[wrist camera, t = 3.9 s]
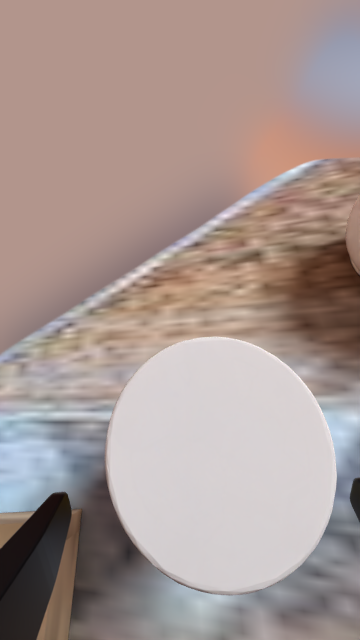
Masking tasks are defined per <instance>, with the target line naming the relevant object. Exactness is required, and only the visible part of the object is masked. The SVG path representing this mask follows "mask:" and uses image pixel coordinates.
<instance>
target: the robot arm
mask: <svg viewBox="0 0 360 640" xmlns="http://www.w3.org/2000/svg"><path fill="white" fill-rule="evenodd" d="M350 501H351V505H352V507H353V509H354V511H355V513H356V516H357V518H358V520H359V522H360V478H355V479H354V480H353V484H352V489H351V493H350ZM71 516H72V510H71V506H70V502H69V498H68V494H67V493H66V492H57V493H53V494H52V495H50V496H49V497H48V499H47V500H46V501H45V502H44V503H43V504H42V505H41V506H40V507H39V508H38V509H37V510H36V511H35V512H34V513H33V514H32V515H31V517H30V518H29V519H28V520H27V521H26V522H25V523H24V524H23V525H22V526H21V527H20V528H19V529H18V530H17V531H16V532H15V534H14V535H13V536H12V537H11V538H10V539H9V540H8V541H7V542H6V543H5V544H4V545H3V546H2V547H1V548H0V640H37V637H38V634H39V631H40V628H41V625H42V622H43V619H44V616H45V613H46V610H47V607H48V604H49V601H50V598H51V595H52V592H53V588H54V585H55V582H56V578H57V574H58V571H59V566H60V562H61V558H62V554H63V550H64V546H65V542H66V538H67V534H68V530H69V526H70V522H71Z"/></svg>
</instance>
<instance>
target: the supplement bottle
mask: <svg viewBox="0 0 360 640" xmlns="http://www.w3.org/2000/svg"><path fill="white" fill-rule="evenodd" d="M105 469H106V478H107V484H108V489H109V493H110V496H111V500H112V503H113V505H114V508H115V510H116V513H117V515H118V518H119V520H120V522H121V524H122V526H123V528H124V530H125V532H126V534H127V535H128V536H129V538H130V539H131V540H132V542H133V544H134V545H135V546H136V548H137V549H138V550H139V551H140V552H141V553H142V555H143V556H144V557H145V558H146V559H147V560H148V561H149V562H150V563H152V564H153V565H154V566H155V567H156V568H157V569H159V570H160V571H161V572H162V573H163V574H165V575H166V576H168V577H169V578H171V579H173V580H174V581H176V582H177V583H179V584H181V585H184V586H186V587H189V588H191V589H195V590H198V591H201V592H206V593H211V594H219V595H241V594H248V593H252V592H256V591H259V590H262V589H264V588H267V587H269V586H272V585H274V584H276V583H278V582H280V581H281V580H283V579H284V578H286V577H287V576H288V575H290V574H291V573H292V572H293V571H294V570H296V569H297V568H298V567H299V566H301V565H302V564H303V562H304V561H305V560H306V559H307V558H308V556H309V555H310V554H311V553H312V552H313V550H314V549H315V547H316V546H317V544H318V542H319V541H320V539H321V537H322V535H323V533H324V531H325V529H326V526H327V524H328V522H329V518H330V515H331V512H332V508H333V502H334V496H335V490H336V479H337V474H336V461H335V452H334V446H333V442H332V438H331V434H330V430H329V427H328V425H327V422H326V419H325V417H324V414H323V412H322V410H321V408H320V406H319V405H318V403H317V401H316V399H315V397H314V396H313V394H312V393H311V391H310V390H309V389H308V387H307V386H306V385H305V383H304V382H303V381H302V380H301V378H300V377H299V376H298V375H297V374H296V373H295V372H294V371H293V370H292V369H291V368H290V367H289V366H287V365H286V364H285V363H283V362H282V361H281V360H279V359H278V358H277V357H276V356H274V355H272V354H271V353H269V352H267V351H265V350H264V349H262V348H260V347H258V346H255V345H253V344H250V343H248V342H244V341H241V340H236V339H231V338H224V337H202V338H195V339H191V340H186V341H182V342H179V343H176V344H174V345H172V346H169V347H167V348H166V349H164V350H162V351H160V352H159V353H157V354H156V355H154V356H153V357H152V358H150V359H149V360H148V361H146V362H145V363H144V364H143V365H142V366H141V367H140V368H139V369H138V370H137V371H136V372H135V374H134V375H133V376H132V377H131V378H130V380H129V381H128V382H127V384H126V386H125V387H124V389H123V390H122V392H121V394H120V396H119V398H118V400H117V402H116V405H115V407H114V409H113V412H112V416H111V419H110V423H109V427H108V431H107V440H106V446H105Z"/></svg>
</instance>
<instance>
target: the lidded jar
mask: <svg viewBox="0 0 360 640" xmlns="http://www.w3.org/2000/svg"><path fill="white" fill-rule="evenodd" d="M345 235H346V246H347V250H348V253H349V256H350V261H351V264H352V266H353V268H354V269H355V271H356V272H357V273H358V274H359V275H360V193H359V195H358V197H357V199H356V201H355V203H354V205H353V208H352V210H351V213H350V215H349V218H348V221H347V227H346V233H345Z"/></svg>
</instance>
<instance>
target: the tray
mask: <svg viewBox="0 0 360 640" xmlns="http://www.w3.org/2000/svg"><path fill="white" fill-rule="evenodd" d="M34 512H35V511H33V512H13V513H0V548H1V547H2V546H3V545H4V544H5V543H6V542H7V541H8V540H9V539H10V538H11V537H12V536H13V535H14V534H15V532H16V531H17V530H18V529H19V528H20V527H21V526H22V525H23V524H24V523H25V522H26V521H27V520H28V519H29V518H30V517H31V515H32V514H33V513H34ZM81 513H82V509H73V510H72V516H71V522H70V526H69V530H68V534H67V538H66V542H65V546H64V550H63V554H62V558H61V562H60V566H59V571H58V574H57V578H56V582H55V585H54V588H53V592H52V595H51V598H50V601H49V604H48V607H47V610H46V613H45V616H44V619H43V622H42V625H41V628H40V631H39V634H38V637H37V640H68V636H69V627H70V617H71V608H72V599H73V589H74V580H75V570H76V561H77V551H78V542H79V532H80V523H81Z"/></svg>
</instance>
